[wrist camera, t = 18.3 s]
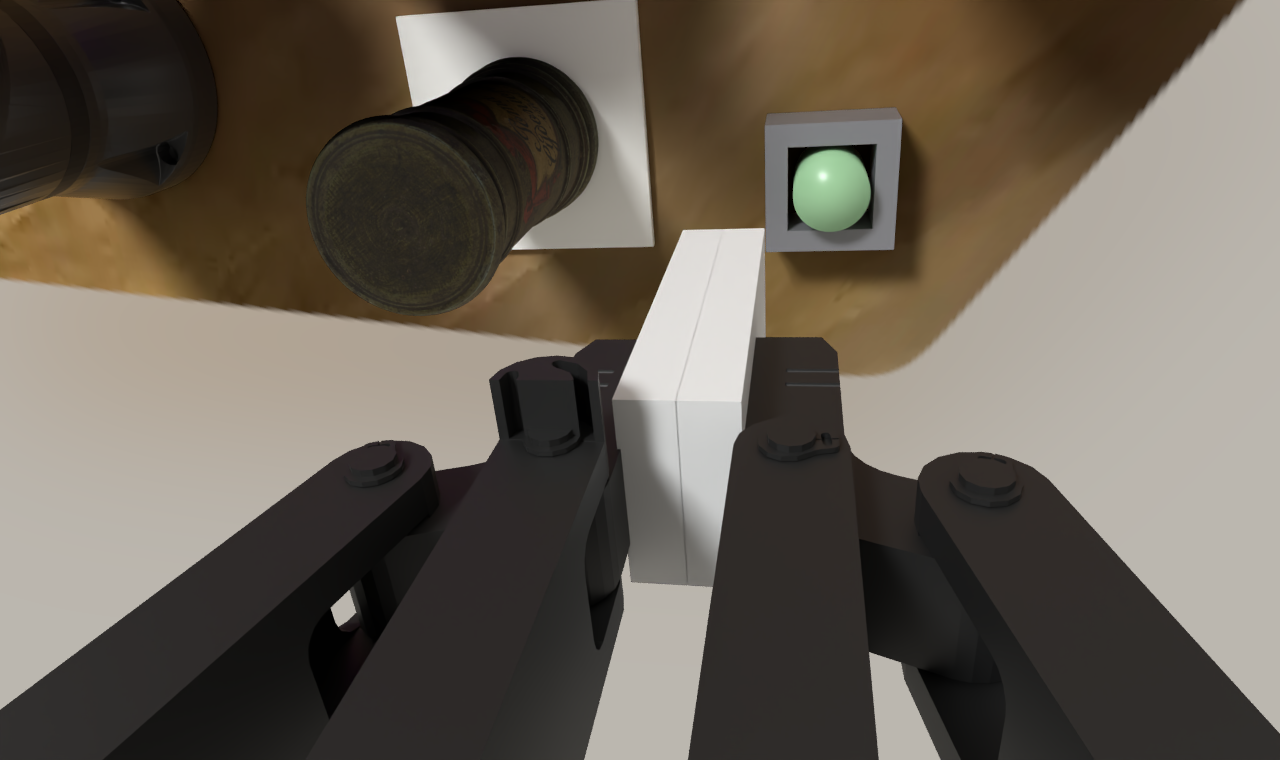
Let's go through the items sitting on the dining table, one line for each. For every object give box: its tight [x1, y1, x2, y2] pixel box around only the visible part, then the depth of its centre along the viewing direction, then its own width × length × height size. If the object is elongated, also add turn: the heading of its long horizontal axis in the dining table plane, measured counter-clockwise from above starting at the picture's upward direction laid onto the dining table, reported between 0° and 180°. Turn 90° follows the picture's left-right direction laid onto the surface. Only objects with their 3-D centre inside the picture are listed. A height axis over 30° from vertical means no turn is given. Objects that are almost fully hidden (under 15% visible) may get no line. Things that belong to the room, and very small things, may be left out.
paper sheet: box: [396, 0, 655, 250], centre depth 49 cm, size 14×14×1 cm
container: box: [306, 57, 598, 316], centre depth 41 cm, size 9×9×18 cm
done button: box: [793, 145, 871, 232], centre depth 46 cm, size 4×4×4 cm
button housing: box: [765, 107, 902, 252], centre depth 46 cm, size 7×7×4 cm
